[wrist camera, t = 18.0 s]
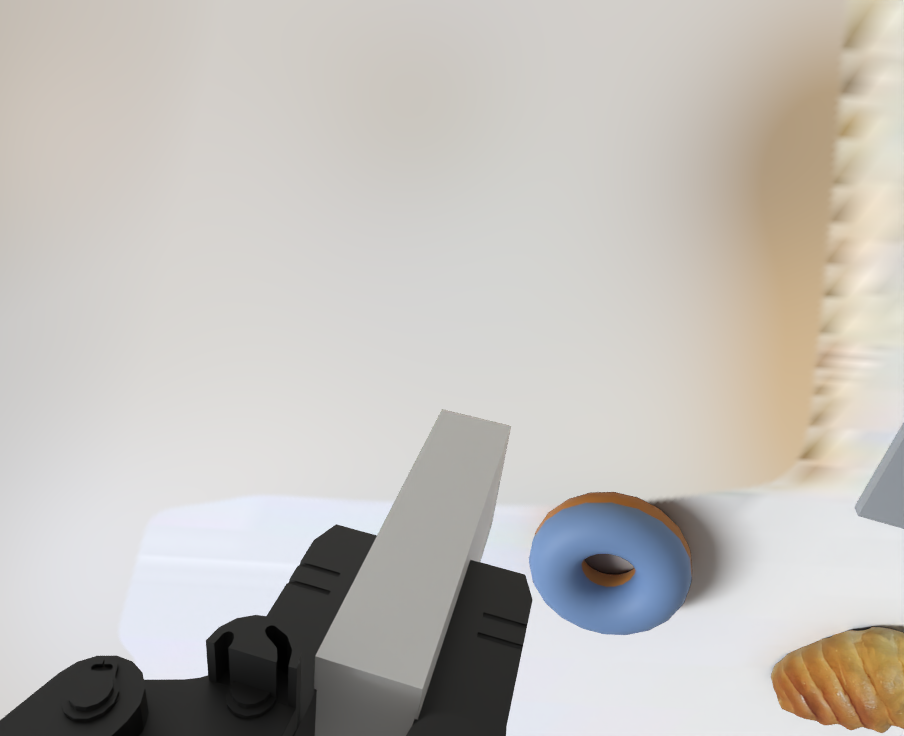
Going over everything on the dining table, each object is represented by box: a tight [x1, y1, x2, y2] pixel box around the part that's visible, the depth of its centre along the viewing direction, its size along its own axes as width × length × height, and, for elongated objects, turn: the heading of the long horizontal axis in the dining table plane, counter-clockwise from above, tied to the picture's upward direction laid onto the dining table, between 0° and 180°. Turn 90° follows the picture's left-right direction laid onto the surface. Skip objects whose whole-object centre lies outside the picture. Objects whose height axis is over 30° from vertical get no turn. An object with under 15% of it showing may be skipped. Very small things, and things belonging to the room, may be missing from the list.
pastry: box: [771, 627, 904, 733], centre depth 45 cm, size 9×7×4 cm
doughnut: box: [529, 492, 692, 635], centre depth 45 cm, size 10×10×5 cm
